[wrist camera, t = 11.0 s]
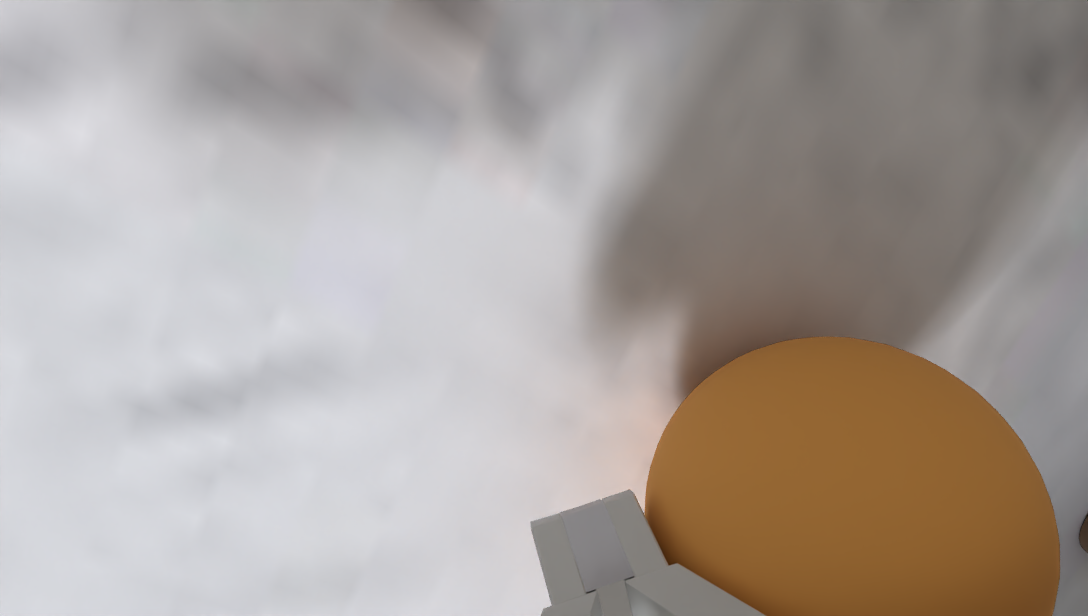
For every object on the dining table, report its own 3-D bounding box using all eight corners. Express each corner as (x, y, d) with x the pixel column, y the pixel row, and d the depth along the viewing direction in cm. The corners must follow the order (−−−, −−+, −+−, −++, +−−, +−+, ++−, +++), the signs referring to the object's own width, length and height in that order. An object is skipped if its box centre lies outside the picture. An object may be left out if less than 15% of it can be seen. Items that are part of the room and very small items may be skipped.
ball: (602, 606, 14) (825, 925, 9) (561, 348, 12) (835, 587, 6) (828, 493, 16) (1118, 703, 11) (834, 252, 14) (1212, 377, 8)
